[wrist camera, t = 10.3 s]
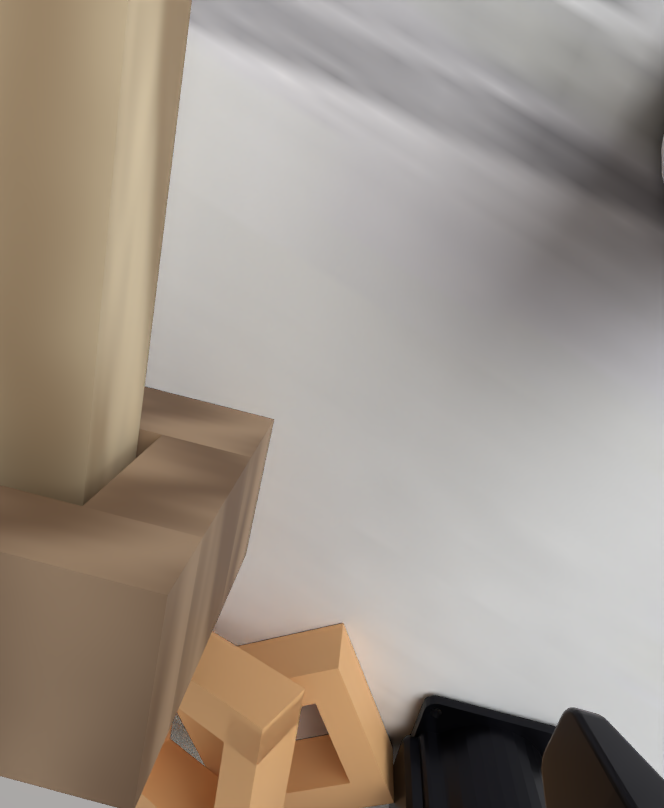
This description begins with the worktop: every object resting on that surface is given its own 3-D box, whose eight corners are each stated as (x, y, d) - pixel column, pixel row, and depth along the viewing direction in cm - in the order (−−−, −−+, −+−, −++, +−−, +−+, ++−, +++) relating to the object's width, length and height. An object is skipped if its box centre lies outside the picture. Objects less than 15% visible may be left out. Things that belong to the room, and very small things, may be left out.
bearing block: (274, 419, 19) (167, 595, 10) (245, 555, 21) (133, 811, 12) (13, 353, 20) (-337, 463, 10) (8, 493, 21) (-291, 697, 12)
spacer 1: (113, 625, 20) (262, 729, 17) (163, 600, 22) (305, 688, 19) (97, 784, 22) (231, 912, 18) (145, 747, 24) (274, 855, 20)
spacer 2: (343, 622, 22) (338, 668, 20) (392, 748, 24) (393, 803, 21) (192, 656, 23) (171, 702, 21) (250, 772, 25) (237, 826, 23)
